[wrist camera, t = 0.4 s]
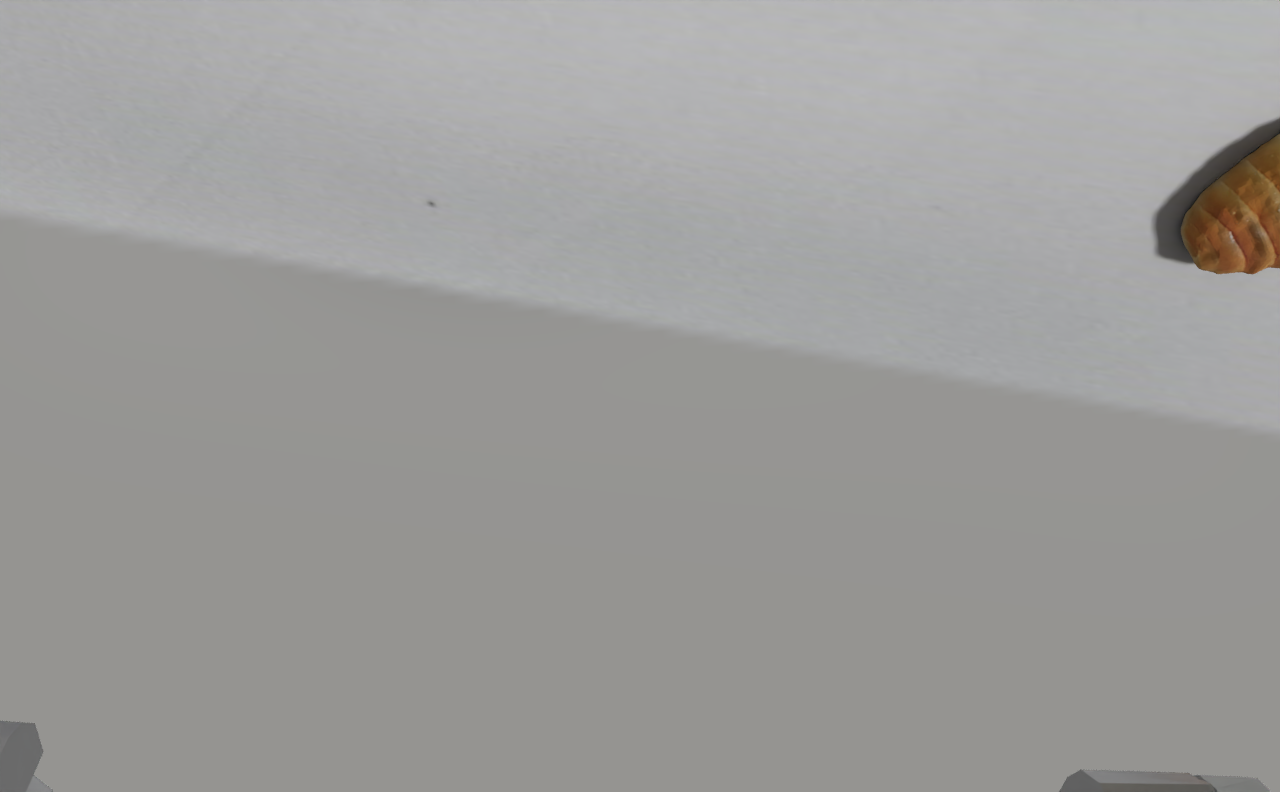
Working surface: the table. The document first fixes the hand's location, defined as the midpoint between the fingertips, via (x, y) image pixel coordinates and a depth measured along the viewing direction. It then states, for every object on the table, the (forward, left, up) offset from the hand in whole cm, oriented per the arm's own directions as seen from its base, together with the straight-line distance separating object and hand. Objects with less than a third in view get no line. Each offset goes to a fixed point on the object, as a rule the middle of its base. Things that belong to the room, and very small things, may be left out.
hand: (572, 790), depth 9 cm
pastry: (+7, +38, -46) cm, 60 cm away
